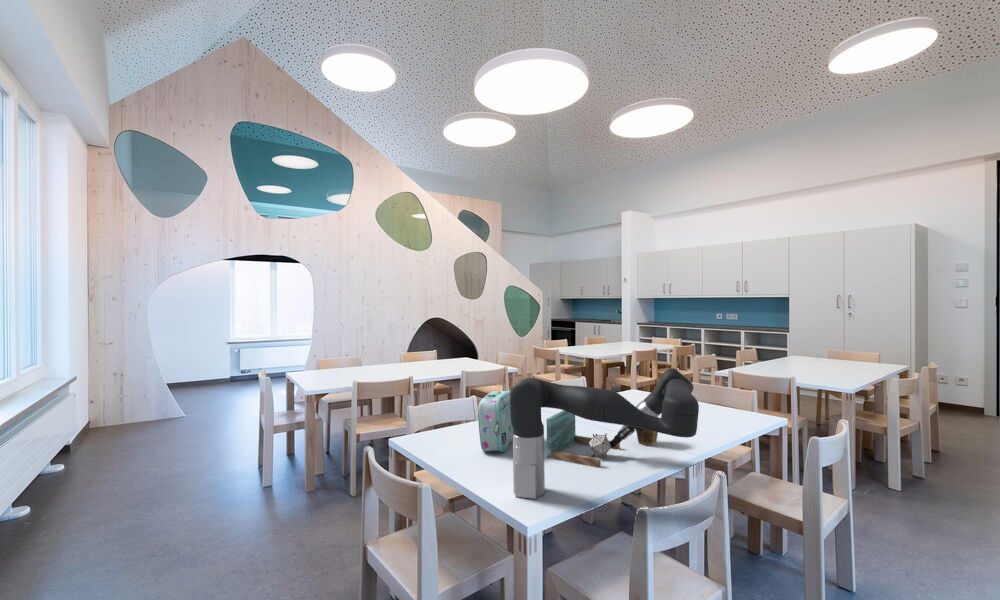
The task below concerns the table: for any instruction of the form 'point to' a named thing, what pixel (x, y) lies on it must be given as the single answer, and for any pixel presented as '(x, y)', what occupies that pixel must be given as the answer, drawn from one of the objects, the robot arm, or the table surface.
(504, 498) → the table surface
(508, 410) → the lunch box
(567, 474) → the table surface
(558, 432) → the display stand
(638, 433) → the ceramic cup
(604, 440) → the game die
